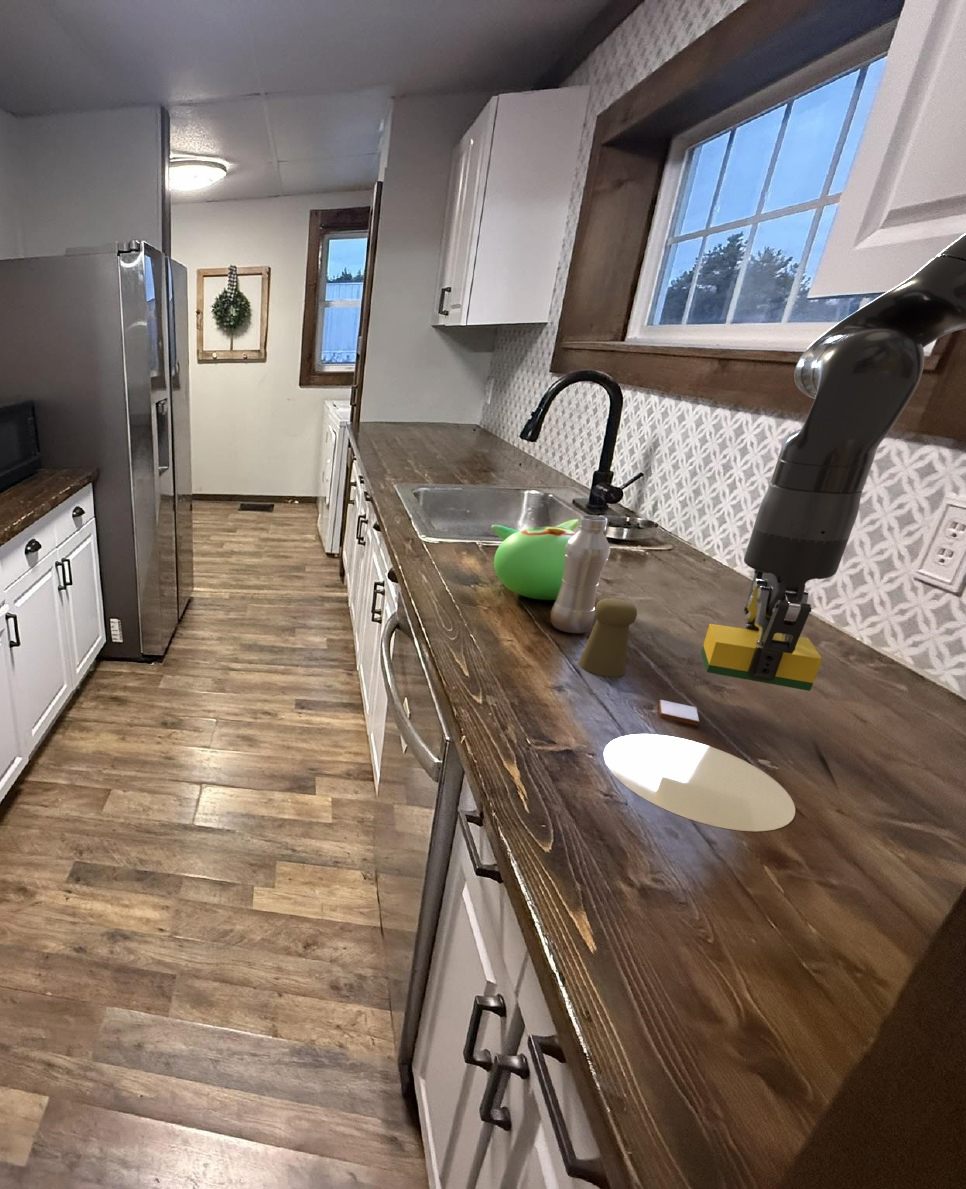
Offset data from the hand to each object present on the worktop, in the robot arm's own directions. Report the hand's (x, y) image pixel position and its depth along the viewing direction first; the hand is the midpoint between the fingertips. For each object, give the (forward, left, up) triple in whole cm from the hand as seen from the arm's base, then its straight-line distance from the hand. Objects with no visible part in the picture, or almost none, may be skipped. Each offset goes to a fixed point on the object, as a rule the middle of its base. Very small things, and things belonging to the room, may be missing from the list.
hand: (754, 665), depth 74 cm
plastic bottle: (+18, -29, -11) cm, 36 cm away
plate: (+4, +11, -11) cm, 16 cm away
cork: (+13, -16, -11) cm, 23 cm away
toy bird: (+24, -44, -11) cm, 51 cm away
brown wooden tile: (+5, -3, -11) cm, 13 cm away
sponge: (0, 0, -1) cm, 1 cm away
